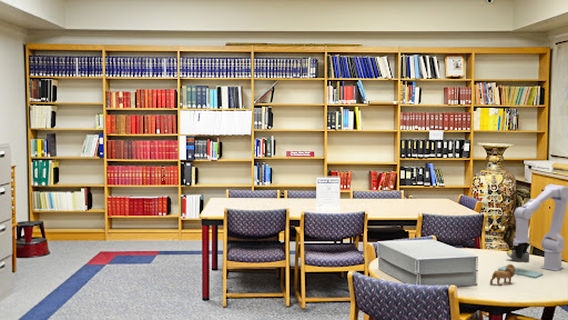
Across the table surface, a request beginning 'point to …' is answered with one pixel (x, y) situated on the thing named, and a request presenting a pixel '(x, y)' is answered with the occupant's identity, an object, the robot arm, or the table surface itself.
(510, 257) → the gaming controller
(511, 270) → the lion figurine
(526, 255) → the connector
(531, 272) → the desk mat
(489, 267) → the table surface
